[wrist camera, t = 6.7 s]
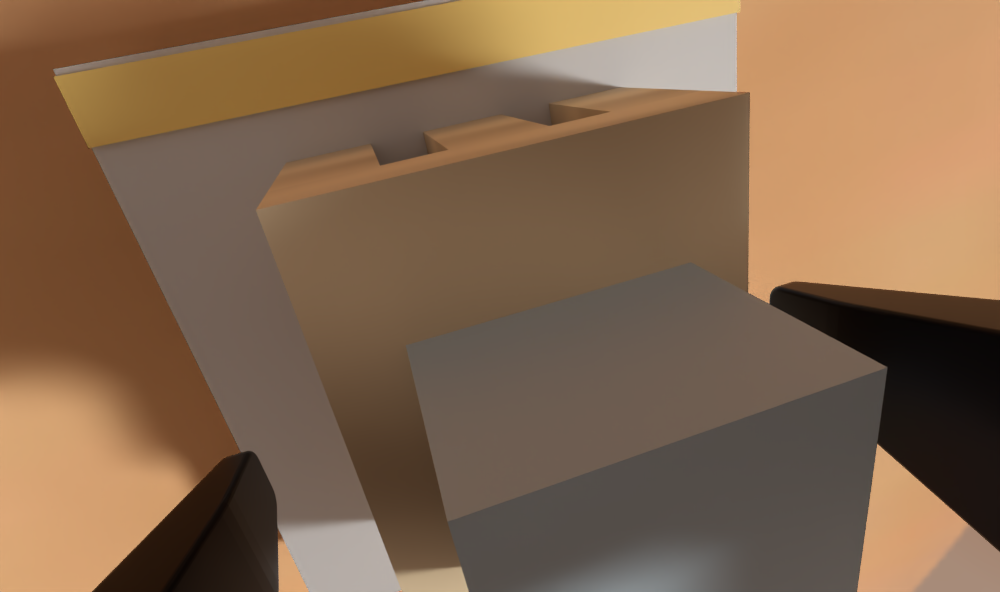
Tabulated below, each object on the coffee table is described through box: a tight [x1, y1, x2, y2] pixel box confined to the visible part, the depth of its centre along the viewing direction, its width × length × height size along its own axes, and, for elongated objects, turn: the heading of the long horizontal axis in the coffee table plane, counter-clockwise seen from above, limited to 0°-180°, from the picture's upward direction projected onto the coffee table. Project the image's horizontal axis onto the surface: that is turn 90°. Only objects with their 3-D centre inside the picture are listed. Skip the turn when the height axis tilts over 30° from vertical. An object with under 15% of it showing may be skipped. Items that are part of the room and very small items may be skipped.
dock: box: [53, 0, 740, 592], centre depth 12 cm, size 11×12×3 cm
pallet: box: [256, 87, 750, 592], centre depth 9 cm, size 8×6×4 cm
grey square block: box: [406, 262, 887, 592], centre depth 7 cm, size 4×4×3 cm
